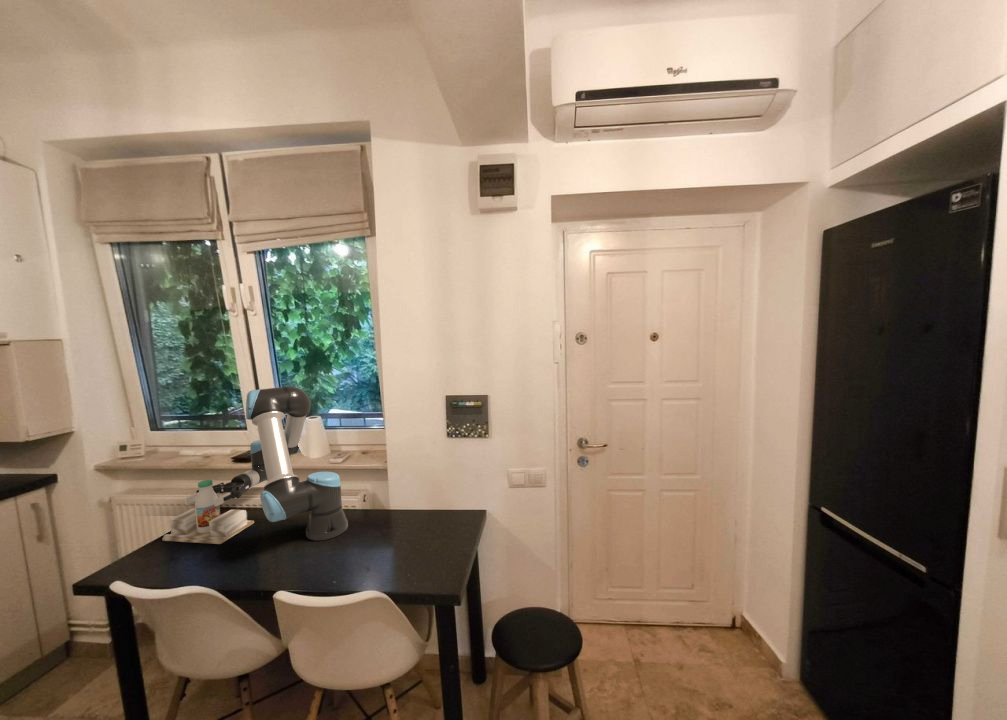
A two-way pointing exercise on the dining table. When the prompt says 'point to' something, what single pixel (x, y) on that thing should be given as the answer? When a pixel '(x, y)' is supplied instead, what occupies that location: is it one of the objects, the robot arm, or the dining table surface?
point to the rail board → (219, 527)
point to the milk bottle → (205, 506)
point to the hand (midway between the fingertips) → (200, 502)
